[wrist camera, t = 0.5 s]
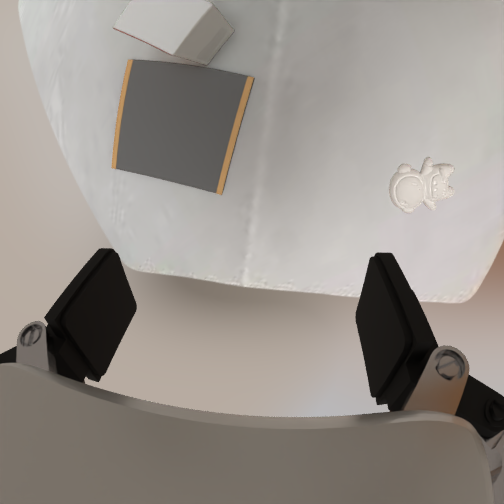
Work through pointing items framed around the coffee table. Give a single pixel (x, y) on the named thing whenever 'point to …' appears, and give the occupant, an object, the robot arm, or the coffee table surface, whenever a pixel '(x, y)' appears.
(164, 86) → the mat
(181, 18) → the small box
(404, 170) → the astronaut figurine
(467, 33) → the coffee table surface
